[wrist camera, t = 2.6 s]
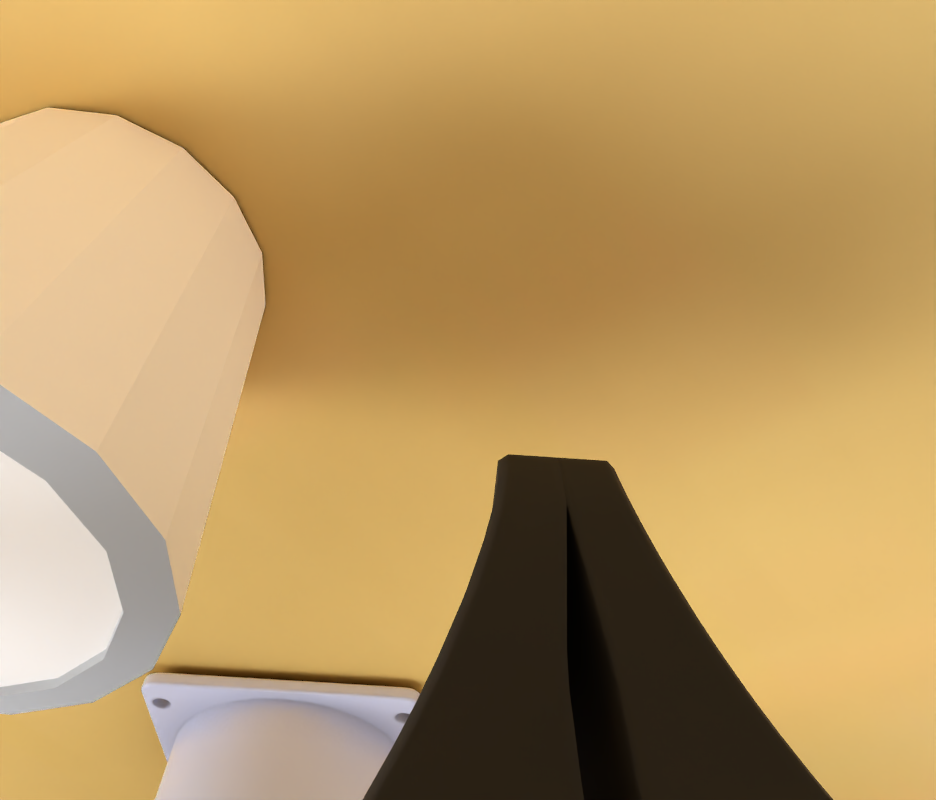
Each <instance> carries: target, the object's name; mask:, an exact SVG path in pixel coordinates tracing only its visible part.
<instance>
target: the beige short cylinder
mask: <svg viewBox="0 0 936 800" xmlns="http://www.w3.org/2000/svg"><path fill="white" fill-rule="evenodd" d="M265 306H266V304H265V289H264V274H263V259H262V252H261V250H260V248H259V246H258V244H257V242H256V240H255V238H254V236H253V234H252V232H251V230H250V228H249V226H248V224H247V222H246V220H245V218H244V216H243V214H242V212H241V210H240V208H239V206H238V204H237V202H236V200H235V198H234V197H233V196H232V195H231V194H230V193H229V192H228V191H227V190H226V189H225V188H224V187H223V186H222V185H221V184H220V183H219V182H218V181H217V180H216V179H215V178H214V177H212V176H211V175H210V174H209V173H208V172H207V171H206V170H205V169H204V168H203V167H202V166H201V165H200V164H199V163H198V162H197V161H196V160H195V159H194V158H193V157H192V156H191V155H190V154H189V153H188V152H187V151H186V150H185V149H184V148H182V147H180V146H178V145H176V144H174V143H172V142H170V141H168V140H166V139H164V138H162V137H160V136H158V135H156V134H154V133H152V132H150V131H148V130H146V129H143V128H141V127H139V126H137V125H135V124H133V123H131V122H129V121H127V120H125V119H123V118H121V117H119V116H117V115H110V114H101V113H93V112H84V111H75V110H66V109H58V108H49V107H47V108H44V109H41V110H38V111H35V112H32V113H29V114H26V115H23V116H20V117H17V118H14V119H11V120H8V121H5V122H2V123H0V714H10V715H12V714H18V713H25V712H32V711H39V710H45V709H52V708H59V707H66V706H72V705H79V704H86V703H93V702H95V701H97V700H98V699H100V698H102V697H104V696H106V695H107V694H109V693H111V692H113V691H115V690H116V689H118V688H120V687H122V686H124V685H125V684H127V683H129V682H131V681H133V680H134V679H136V678H138V677H140V676H142V675H143V674H145V673H147V672H149V671H150V670H152V669H153V668H154V666H155V664H156V662H157V660H158V658H159V656H160V654H161V652H162V650H163V648H164V646H165V644H166V642H167V640H168V638H169V636H170V634H171V632H172V630H173V629H174V627H175V625H176V623H177V621H178V619H179V617H180V615H181V611H182V608H183V604H184V600H185V597H186V593H187V589H188V586H189V582H190V579H191V575H192V571H193V568H194V564H195V560H196V557H197V553H198V549H199V546H200V542H201V539H202V535H203V531H204V528H205V524H206V520H207V517H208V513H209V509H210V506H211V502H212V498H213V495H214V491H215V488H216V484H217V480H218V477H219V473H220V469H221V466H222V462H223V458H224V455H225V451H226V448H227V444H228V440H229V437H230V433H231V429H232V426H233V422H234V418H235V415H236V411H237V407H238V404H239V400H240V397H241V393H242V389H243V386H244V382H245V378H246V375H247V371H248V367H249V364H250V360H251V357H252V353H253V349H254V346H255V342H256V338H257V335H258V331H259V327H260V324H261V320H262V316H263V313H264V309H265Z"/></svg>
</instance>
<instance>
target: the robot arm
mask: <svg viewBox="0 0 936 800" xmlns="http://www.w3.org/2000/svg"><path fill="white" fill-rule="evenodd" d="M141 691H142V694H143V697H144V700H145V702H146V705H147V708H148V711H149V713H150V716H151V719H152V721H153V724H154V727H155V730H156V732H157V735H158V738H159V741H160V743H161V746H162V749H163V752H164V754H165V757H166V760H167V766H166V769H165V771H164V774H163V777H162V780H161V783H160V786H159V789H158V792H157V795H156V798H155V800H833V799H832V798H831V797H830V795H829V794H828V793H827V792H826V791H825V789H824V788H823V787H822V786H821V785H820V784H819V782H818V781H817V780H816V779H815V778H814V776H813V775H812V774H811V773H810V772H809V770H808V769H807V768H806V767H805V765H804V764H803V763H802V762H801V760H800V759H799V758H798V756H797V755H796V754H795V753H794V751H793V750H792V749H791V748H790V746H789V745H788V744H787V743H786V741H785V740H784V739H783V738H782V736H781V735H780V734H779V733H778V731H777V730H776V729H775V727H774V726H773V725H772V723H771V722H770V721H769V719H768V718H767V717H766V715H765V714H764V713H763V711H762V710H761V709H760V707H759V706H758V705H757V703H756V702H755V701H754V699H753V698H752V697H751V695H750V694H749V692H748V691H747V690H746V688H745V687H744V686H743V684H742V683H741V681H740V680H739V678H738V677H737V676H736V674H735V673H734V671H733V670H732V668H731V667H730V665H729V664H728V663H727V661H726V660H725V658H724V657H723V655H722V654H721V653H720V651H719V650H718V648H717V647H716V645H715V644H714V642H713V641H712V639H711V638H710V636H709V635H708V633H707V632H706V630H705V629H704V627H703V626H702V624H701V623H700V621H699V620H698V618H697V616H696V615H695V613H694V612H693V610H692V608H691V607H690V605H689V603H688V602H687V600H686V599H685V597H684V595H683V594H682V592H681V591H680V589H679V587H678V586H677V584H676V582H675V581H674V579H673V578H672V576H671V574H670V573H669V571H668V569H667V568H666V566H665V564H664V563H663V561H662V559H661V557H660V556H659V554H658V552H657V551H656V549H655V547H654V545H653V543H652V542H651V540H650V538H649V536H648V534H647V533H646V531H645V529H644V527H643V525H642V523H641V522H640V520H639V518H638V516H637V514H636V512H635V510H634V508H633V506H632V504H631V503H630V501H629V499H628V497H627V495H626V493H625V491H624V489H623V487H622V485H621V482H620V480H619V478H618V476H617V474H616V472H615V470H614V468H613V467H612V466H611V465H610V464H609V463H608V462H607V461H599V460H584V459H568V458H553V457H538V456H523V455H507V456H505V457H504V458H502V459H500V460H499V461H498V466H497V475H496V484H495V493H494V501H493V508H492V513H491V517H490V520H489V524H488V527H487V531H486V535H485V538H484V541H483V544H482V547H481V550H480V553H479V556H478V559H477V562H476V564H475V567H474V570H473V573H472V576H471V579H470V582H469V584H468V587H467V590H466V593H465V595H464V598H463V600H462V603H461V605H460V607H459V610H458V612H457V614H456V617H455V619H454V621H453V623H452V626H451V628H450V630H449V633H448V635H447V637H446V640H445V642H444V644H443V647H442V649H441V651H440V653H439V656H438V658H437V660H436V662H435V664H434V666H433V669H432V671H431V673H430V675H429V677H428V679H427V681H426V683H425V685H424V687H423V689H422V691H421V693H419V692H417V691H416V690H414V689H412V688H406V687H392V686H375V685H359V684H342V683H326V682H310V681H293V680H277V679H260V678H244V677H227V676H211V675H195V674H178V673H162V672H159V673H152V674H150V675H148V676H147V677H146V678H145V680H144V683H143V685H142V688H141Z"/></svg>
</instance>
